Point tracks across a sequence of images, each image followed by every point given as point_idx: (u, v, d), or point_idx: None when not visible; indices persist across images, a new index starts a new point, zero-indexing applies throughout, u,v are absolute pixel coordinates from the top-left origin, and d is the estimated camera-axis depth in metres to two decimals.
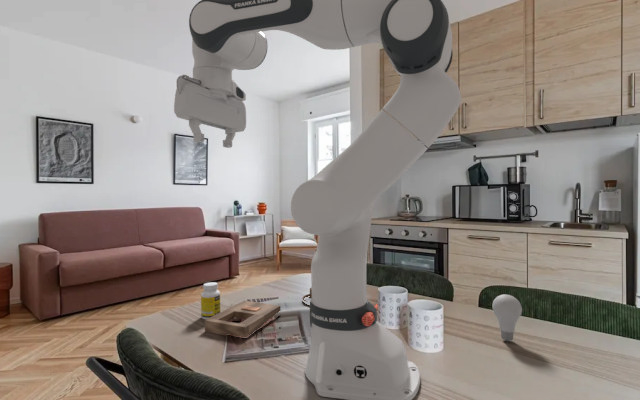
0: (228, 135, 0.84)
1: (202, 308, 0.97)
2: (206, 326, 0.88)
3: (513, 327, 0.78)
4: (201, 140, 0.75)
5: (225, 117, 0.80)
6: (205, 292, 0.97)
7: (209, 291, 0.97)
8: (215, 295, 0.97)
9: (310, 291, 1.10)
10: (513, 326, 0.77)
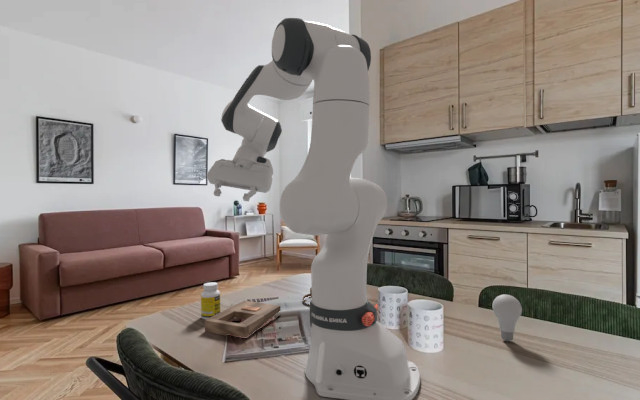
0: None
1: (202, 308, 0.97)
2: (206, 326, 0.88)
3: (513, 327, 0.78)
4: (215, 192, 1.00)
5: (243, 177, 1.02)
6: (205, 292, 0.97)
7: (209, 291, 0.97)
8: (215, 295, 0.97)
9: (310, 291, 1.10)
10: (513, 326, 0.77)
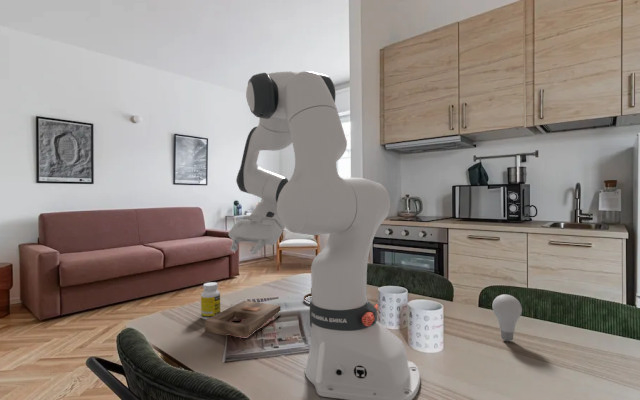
0: None
1: (202, 308, 0.97)
2: (206, 326, 0.88)
3: (513, 327, 0.78)
4: (231, 248, 1.11)
5: (254, 232, 1.10)
6: (205, 292, 0.97)
7: (209, 291, 0.97)
8: (215, 295, 0.97)
9: (311, 290, 1.10)
10: (513, 326, 0.77)
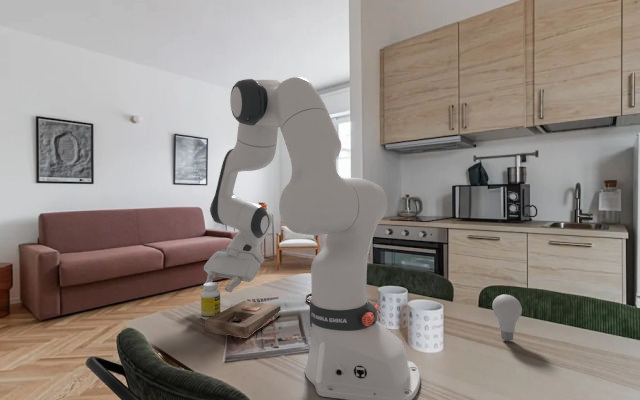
0: None
1: (202, 308, 0.97)
2: (206, 326, 0.88)
3: (513, 327, 0.78)
4: None
5: (230, 267, 1.02)
6: (205, 292, 0.97)
7: (209, 291, 0.97)
8: (215, 295, 0.97)
9: None
10: (513, 326, 0.77)
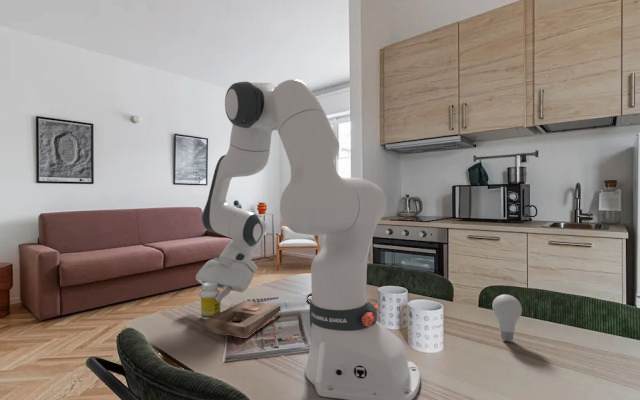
0: None
1: (202, 308, 0.97)
2: (206, 326, 0.88)
3: (513, 327, 0.78)
4: (200, 295, 1.00)
5: (222, 277, 1.00)
6: (205, 292, 0.97)
7: (209, 291, 0.97)
8: None
9: None
10: (513, 326, 0.77)
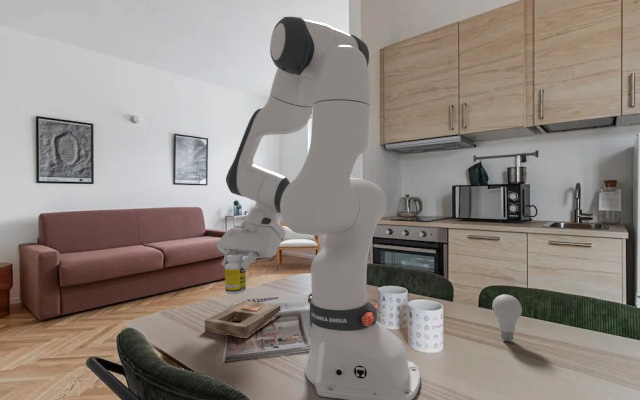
0: None
1: (226, 281, 0.88)
2: (206, 326, 0.88)
3: (513, 327, 0.78)
4: (223, 263, 0.91)
5: (247, 243, 0.91)
6: (229, 264, 0.88)
7: (233, 263, 0.88)
8: None
9: None
10: (513, 326, 0.77)
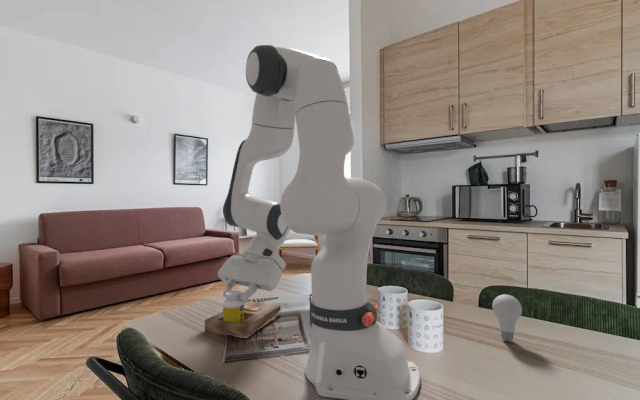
0: None
1: (226, 320, 0.87)
2: (206, 326, 0.88)
3: (513, 327, 0.78)
4: (224, 294, 0.91)
5: (248, 274, 0.91)
6: (229, 302, 0.88)
7: (233, 301, 0.88)
8: (240, 304, 0.88)
9: None
10: (513, 326, 0.77)
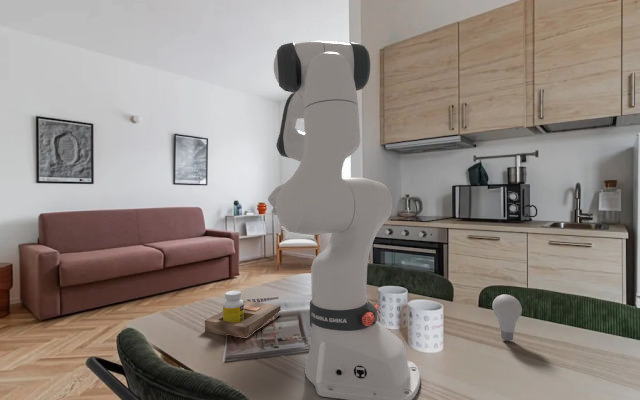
0: None
1: (226, 320, 0.87)
2: (206, 326, 0.88)
3: (513, 327, 0.78)
4: (273, 211, 1.10)
5: None
6: (229, 302, 0.88)
7: (233, 301, 0.88)
8: (240, 304, 0.88)
9: None
10: (513, 326, 0.77)
